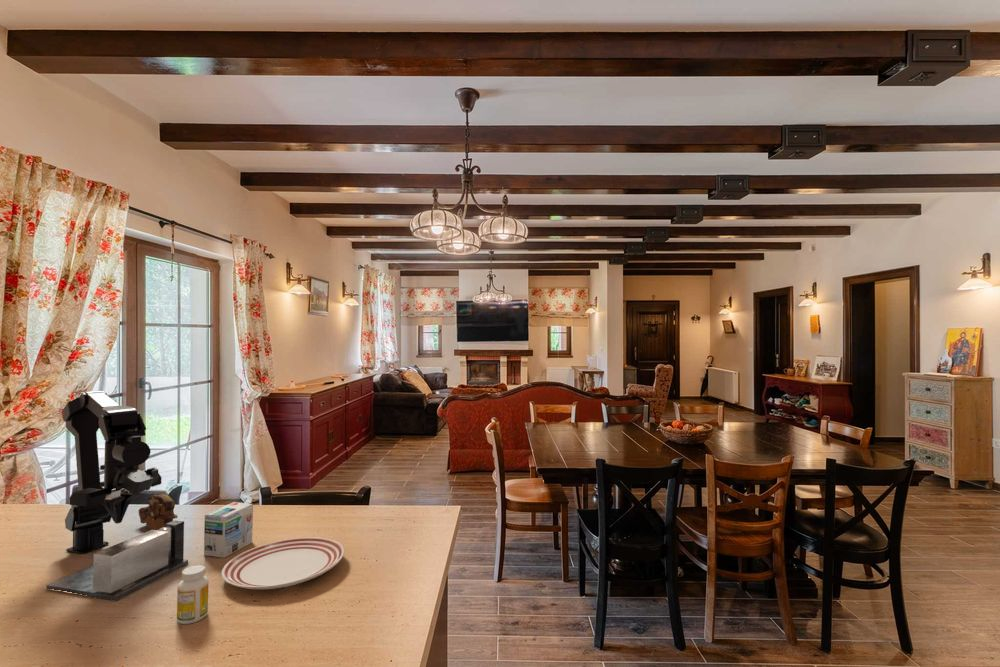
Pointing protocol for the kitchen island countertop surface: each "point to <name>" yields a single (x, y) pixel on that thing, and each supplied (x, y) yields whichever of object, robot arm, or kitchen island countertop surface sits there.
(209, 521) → the light bulb box
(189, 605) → the supplement bottle
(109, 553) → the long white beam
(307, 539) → the dinner plate
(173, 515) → the wooden carving
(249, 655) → the kitchen island countertop surface
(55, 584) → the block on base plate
